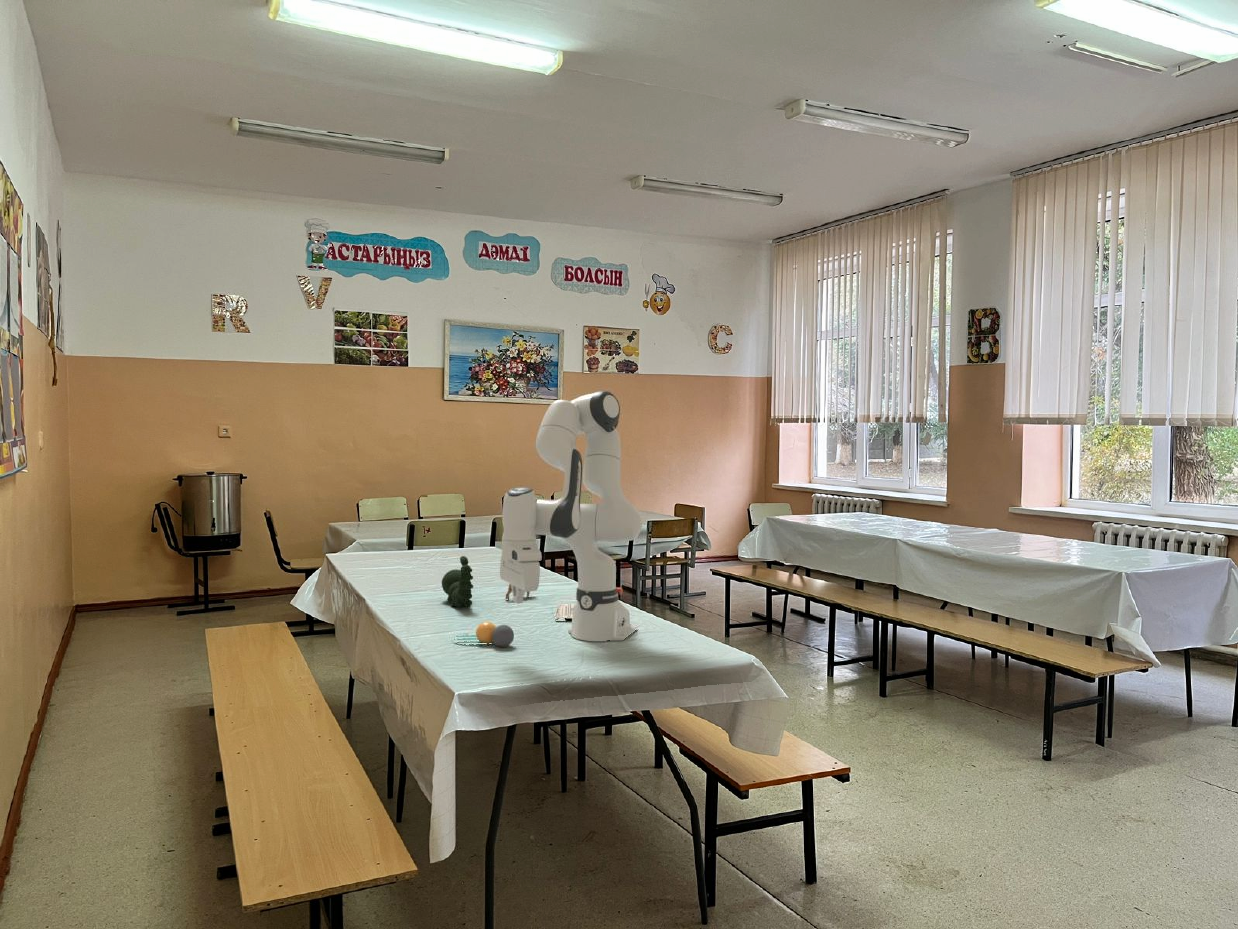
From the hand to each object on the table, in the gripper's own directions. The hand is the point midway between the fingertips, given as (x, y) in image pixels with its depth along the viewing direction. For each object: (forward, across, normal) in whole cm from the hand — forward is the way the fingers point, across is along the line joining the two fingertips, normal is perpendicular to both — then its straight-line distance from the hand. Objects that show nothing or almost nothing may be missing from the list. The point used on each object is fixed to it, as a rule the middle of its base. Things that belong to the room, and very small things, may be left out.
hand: (518, 602), depth 218 cm
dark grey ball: (+12, -14, +1) cm, 18 cm away
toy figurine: (+15, -72, +5) cm, 74 cm away
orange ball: (+12, -19, -2) cm, 23 cm away
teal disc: (+15, -24, -4) cm, 28 cm away
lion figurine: (+15, -74, +28) cm, 80 cm away
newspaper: (+16, -44, +34) cm, 58 cm away
